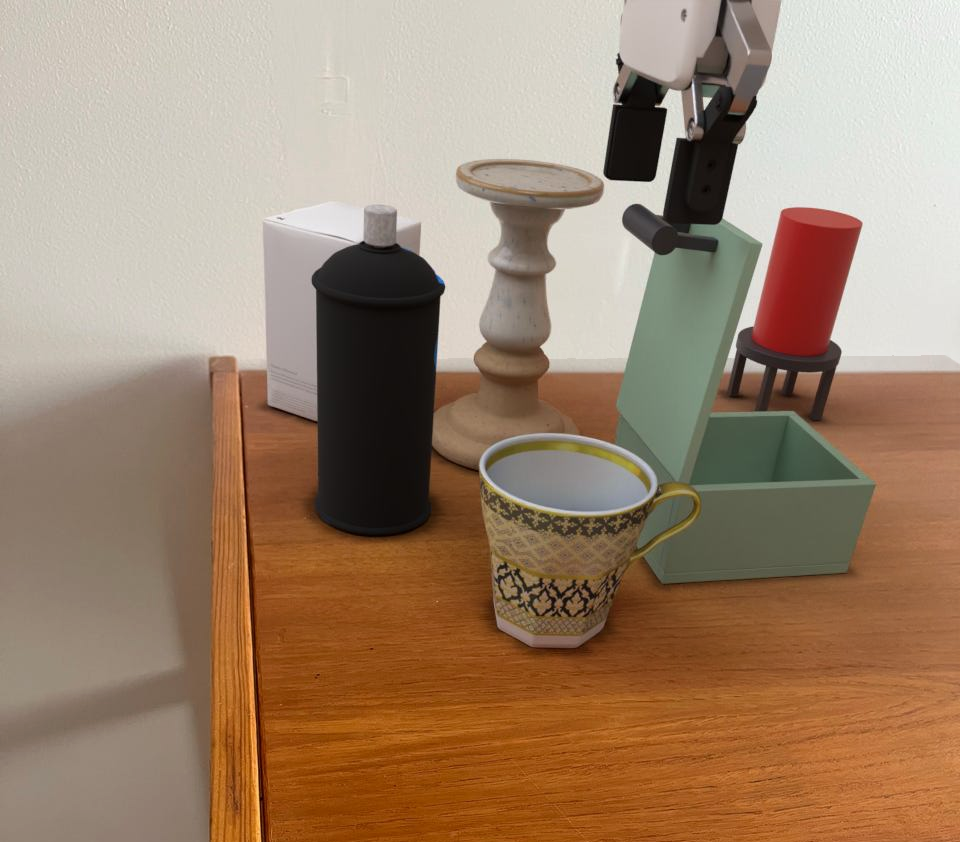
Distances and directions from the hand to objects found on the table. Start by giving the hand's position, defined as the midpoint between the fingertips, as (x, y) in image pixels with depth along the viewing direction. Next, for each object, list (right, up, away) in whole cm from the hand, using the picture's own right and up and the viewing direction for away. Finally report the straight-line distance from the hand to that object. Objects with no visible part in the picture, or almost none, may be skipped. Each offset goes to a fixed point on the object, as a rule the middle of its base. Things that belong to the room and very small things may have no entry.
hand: (658, 199), depth 58 cm
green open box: (+7, -17, +15) cm, 24 cm away
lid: (+3, -6, +5) cm, 9 cm away
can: (+17, +1, +32) cm, 37 cm away
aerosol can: (-18, -16, +14) cm, 28 cm away
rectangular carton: (-22, -5, +28) cm, 36 cm away
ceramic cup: (-5, -24, +5) cm, 25 cm away
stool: (+17, -4, +36) cm, 40 cm away
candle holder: (-8, -9, +25) cm, 28 cm away
